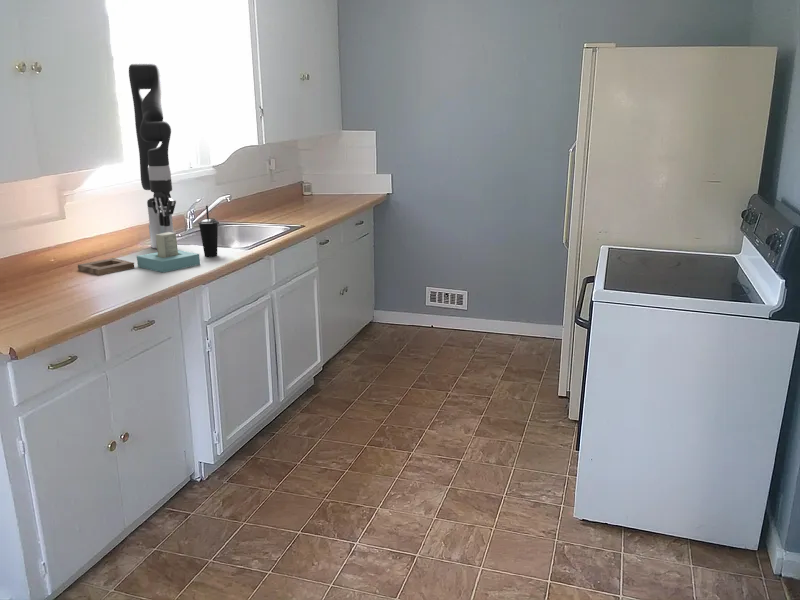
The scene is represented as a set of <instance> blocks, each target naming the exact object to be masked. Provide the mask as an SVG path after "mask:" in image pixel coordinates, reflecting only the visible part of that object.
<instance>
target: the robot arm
mask: <svg viewBox="0 0 800 600" xmlns="http://www.w3.org/2000/svg"><path fill="white" fill-rule="evenodd" d="M128 78H129V85H130V90H131V95H132V97H131V98H132V101H133V111H134V121H135V133H136V138H137V139H136V141H137V147H138V154H139V155H138V156H139V170H140V171H139V172H140V182H141V187H142V189H143V190H145V191H150V192H151V193H153V196H152V197H151V198H149V199H147V201H146V205H147V212H148V213H147V214H148V221H149V224H148V230H149V231H148V232H149V239H150V247H151V248H152V249H156V250H157V243H156V234H161V233H166V232H173V233H175V231H174V223H173V214H174V212H175V207H176V204H177V200H175V199H172V196H171V192H172V191H173V184H172V173H171V168H170V160H169V146H170V140H171V135H172V128H171V125H170V124H169V123H168V122H167V121H164V115H163V114H164V113H163V108H162V81H161V72H160V69H159V67H158V65H157V64H155V63H132V64H130V65H129V67H128ZM141 90H149V91H148V92H147V94H146V95H145V96H144V97H143V95H142V92H141ZM160 143H161V144H160ZM159 144H160V146H158V145H159Z"/></svg>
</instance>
